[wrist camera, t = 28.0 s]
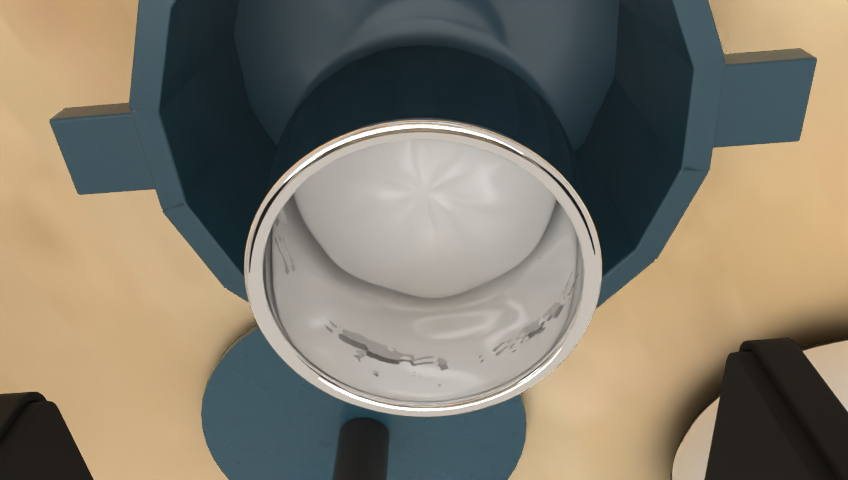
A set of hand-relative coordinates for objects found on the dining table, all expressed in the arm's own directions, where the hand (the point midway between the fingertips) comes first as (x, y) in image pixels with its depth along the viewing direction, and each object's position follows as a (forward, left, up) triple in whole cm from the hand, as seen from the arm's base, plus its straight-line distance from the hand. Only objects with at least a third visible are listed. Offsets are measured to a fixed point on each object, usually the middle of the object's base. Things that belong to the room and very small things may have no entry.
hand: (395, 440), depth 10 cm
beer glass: (0, 0, -19) cm, 19 cm away
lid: (-4, -19, -18) cm, 27 cm away
